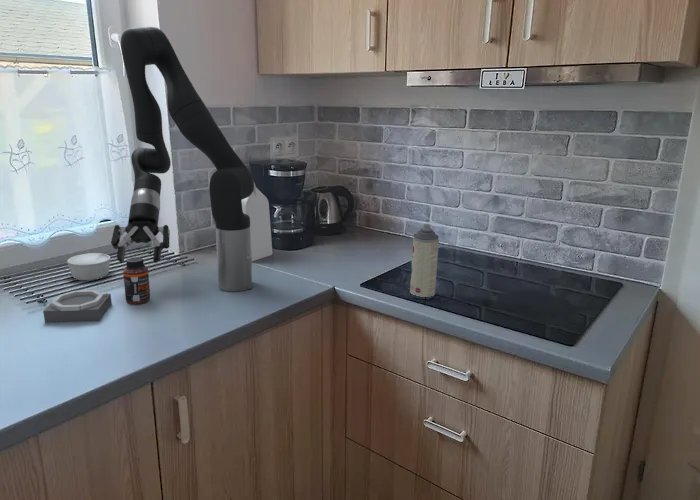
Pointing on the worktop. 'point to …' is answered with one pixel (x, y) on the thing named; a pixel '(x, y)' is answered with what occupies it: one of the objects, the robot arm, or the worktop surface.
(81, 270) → the ramekin
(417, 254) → the aerosol can
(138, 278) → the supplement bottle
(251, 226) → the milk
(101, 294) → the octagonal shallow tray
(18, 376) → the worktop surface
